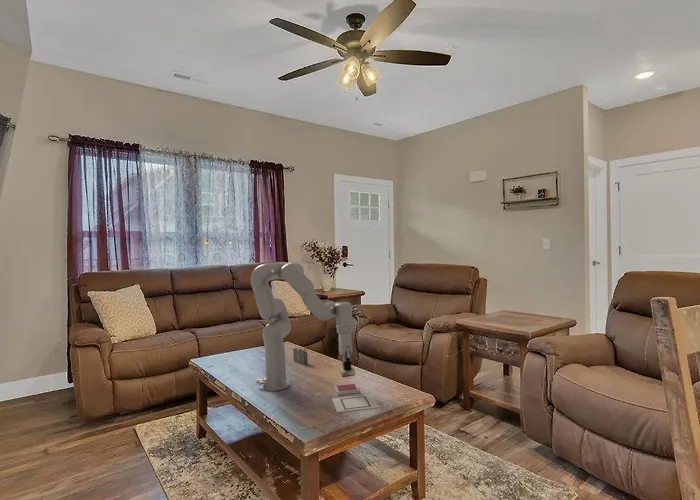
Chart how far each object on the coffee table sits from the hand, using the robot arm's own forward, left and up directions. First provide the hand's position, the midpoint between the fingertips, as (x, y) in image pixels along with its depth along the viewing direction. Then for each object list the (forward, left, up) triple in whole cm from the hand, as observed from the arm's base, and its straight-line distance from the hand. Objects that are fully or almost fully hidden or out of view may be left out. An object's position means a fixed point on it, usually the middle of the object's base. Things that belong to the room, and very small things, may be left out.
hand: (347, 367), depth 186 cm
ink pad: (-1, 0, -11) cm, 11 cm away
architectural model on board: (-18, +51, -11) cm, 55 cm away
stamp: (0, 0, -3) cm, 3 cm away
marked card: (0, -15, -11) cm, 18 cm away
